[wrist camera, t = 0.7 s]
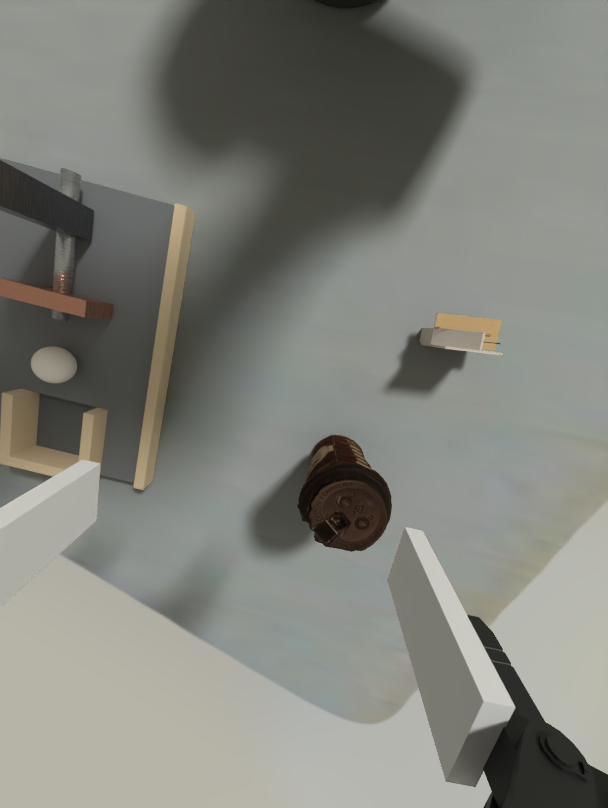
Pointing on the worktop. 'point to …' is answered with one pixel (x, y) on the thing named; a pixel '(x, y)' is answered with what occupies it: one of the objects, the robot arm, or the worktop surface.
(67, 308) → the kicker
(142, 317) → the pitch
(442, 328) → the architectural model
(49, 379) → the ball
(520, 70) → the worktop surface
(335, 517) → the coffee cup
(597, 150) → the worktop surface
